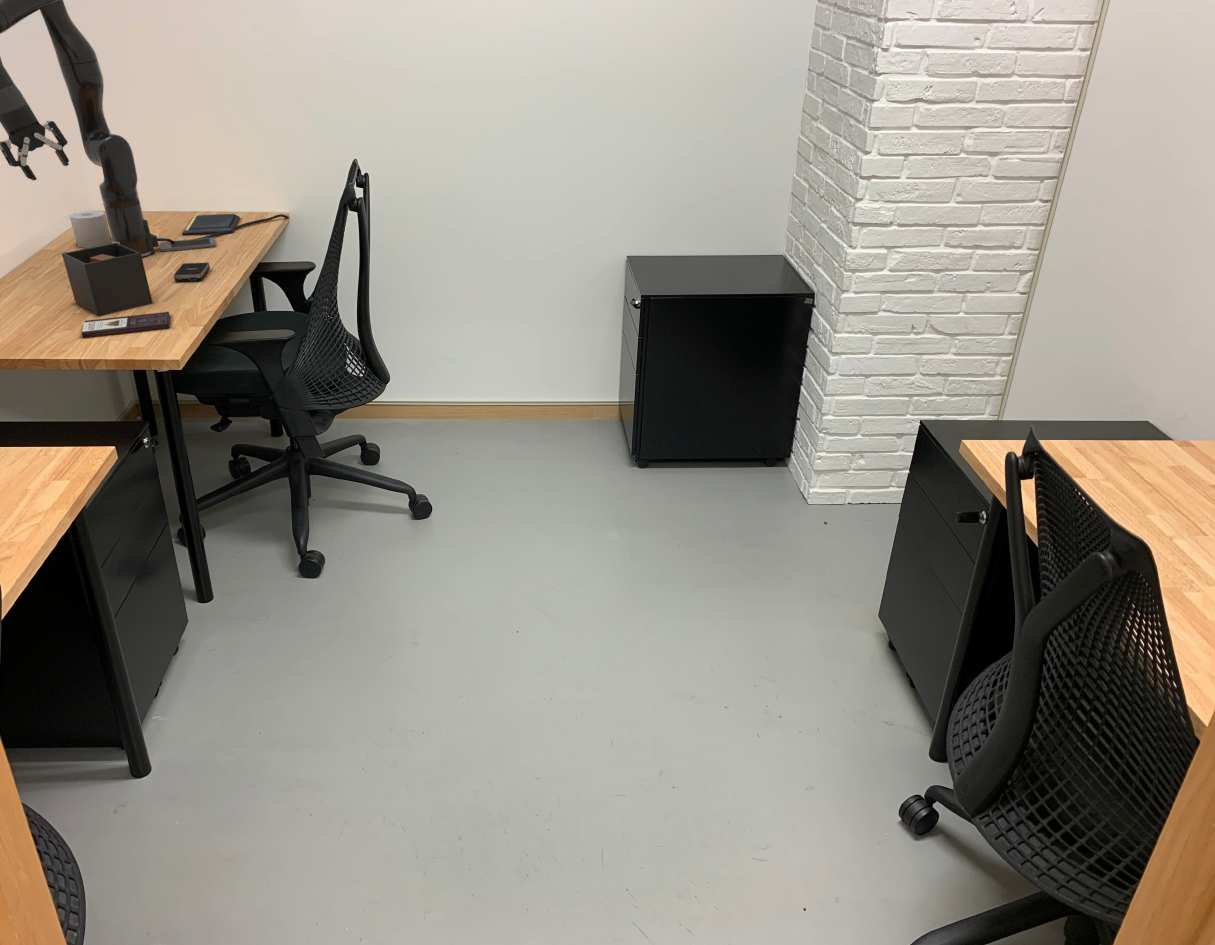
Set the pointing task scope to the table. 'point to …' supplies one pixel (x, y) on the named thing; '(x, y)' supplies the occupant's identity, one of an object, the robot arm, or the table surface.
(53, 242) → the table surface
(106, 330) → the chocolate bar
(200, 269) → the external hard drive
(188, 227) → the dark blue book
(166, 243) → the smartphone
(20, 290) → the table surface
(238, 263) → the table surface
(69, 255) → the trash can
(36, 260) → the table surface
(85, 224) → the toilet tissue
